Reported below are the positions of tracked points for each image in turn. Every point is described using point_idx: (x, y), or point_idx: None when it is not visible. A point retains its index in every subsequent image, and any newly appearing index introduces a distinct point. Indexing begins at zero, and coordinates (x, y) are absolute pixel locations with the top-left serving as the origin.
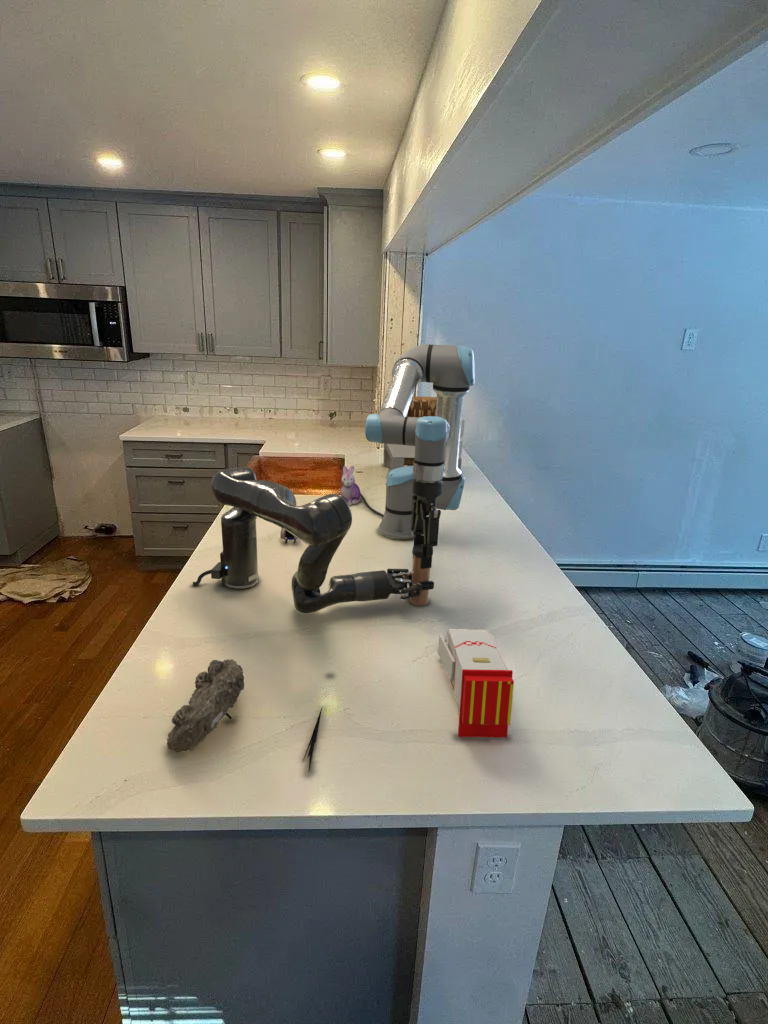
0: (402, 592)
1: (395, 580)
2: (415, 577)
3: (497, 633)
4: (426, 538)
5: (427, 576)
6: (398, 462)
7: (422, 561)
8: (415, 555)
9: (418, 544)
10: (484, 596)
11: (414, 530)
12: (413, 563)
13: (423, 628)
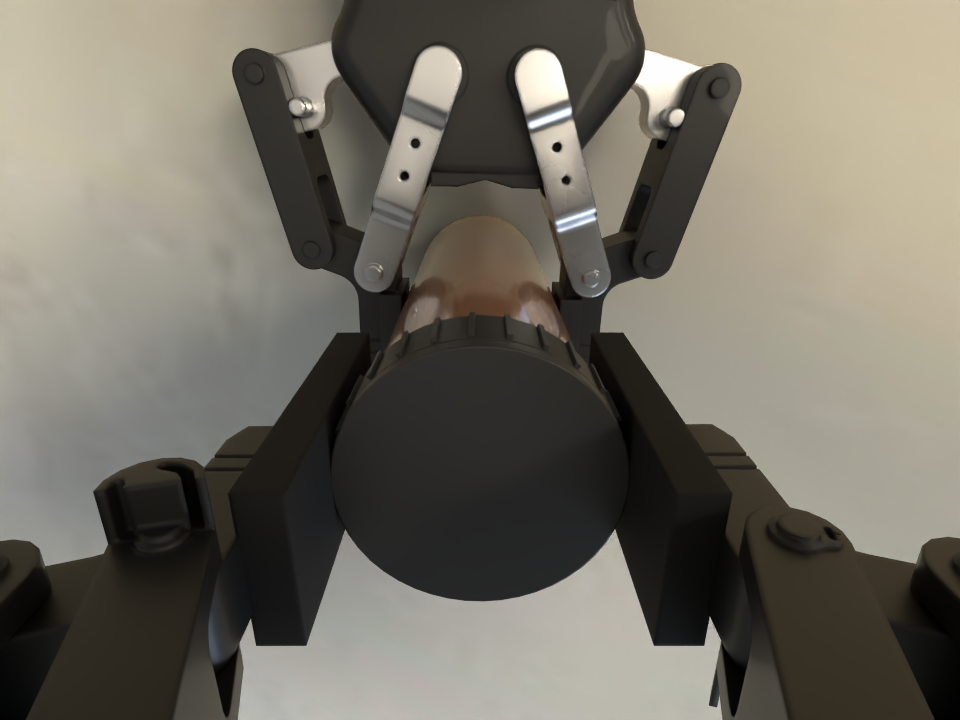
0: (239, 58)
1: (428, 48)
2: (433, 269)
3: (86, 528)
4: (71, 662)
5: None
6: None
7: (314, 370)
8: (421, 330)
9: (626, 474)
10: (448, 617)
11: (808, 583)
12: (472, 289)
13: (148, 175)
